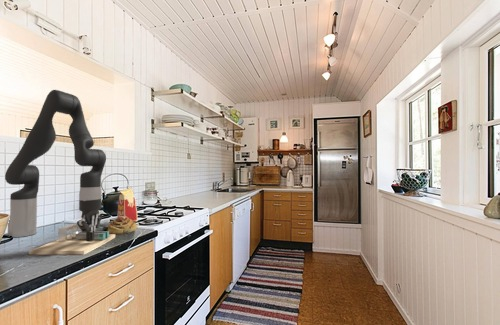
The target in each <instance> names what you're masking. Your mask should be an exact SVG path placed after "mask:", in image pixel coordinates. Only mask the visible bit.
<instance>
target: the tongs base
mask: <svg viewBox="0 0 500 325" xmlns="http://www.w3.org/2000/svg"><path fill="white" fill-rule="evenodd" d="M76 233H86V232H82V231H79V230H78V231H74V232H72V240H75V239H76ZM94 233H106V238H108V237H109V231H107V230H106V231H104V230H102V231H101V230H98V231H96V230H95V231H94Z"/></svg>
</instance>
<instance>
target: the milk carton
mask: <svg viewBox="0 0 500 325" xmlns="http://www.w3.org/2000/svg"><path fill="white" fill-rule="evenodd" d="M132 189H133V188H132V186H131V187H128V188H126V189H122V190H119V192H120V193H119V198H118V204H117V205H118V206H117V217H116V218H118V217H119V216H126V217H128V218H130V219H131V220H134V221H136V222H138V209H137V202H136V201H137V200H136V199H135V195H134V192H133V190H132Z"/></svg>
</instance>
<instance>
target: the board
mask: <svg viewBox="0 0 500 325" xmlns="http://www.w3.org/2000/svg"><path fill="white" fill-rule="evenodd" d="M114 239H116V235H115V234H109V237H108V238H106V239H104V240H93V241H91V242H87V241H86V239H75V240H72V236H70V234H69V235H68V234H67V240H66V241H58V239H56V240H53V241H51V242H48V243H45V244H43V245H41V246H38V247H36V248H34V249H30V250H29V251H28V252H29V253H28V254H29V255H66V256H67V255H86V254H88V253H90V252H92V251H93V250H95V249H97V248H100V247H101V246H103V245H105V244H106V243H108V242H111V240H114Z"/></svg>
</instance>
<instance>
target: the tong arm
mask: <svg viewBox="0 0 500 325" xmlns="http://www.w3.org/2000/svg"><path fill="white" fill-rule="evenodd" d="M76 239H86V233H80V232H79V233H76ZM104 239H106V233H94V240H104Z"/></svg>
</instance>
